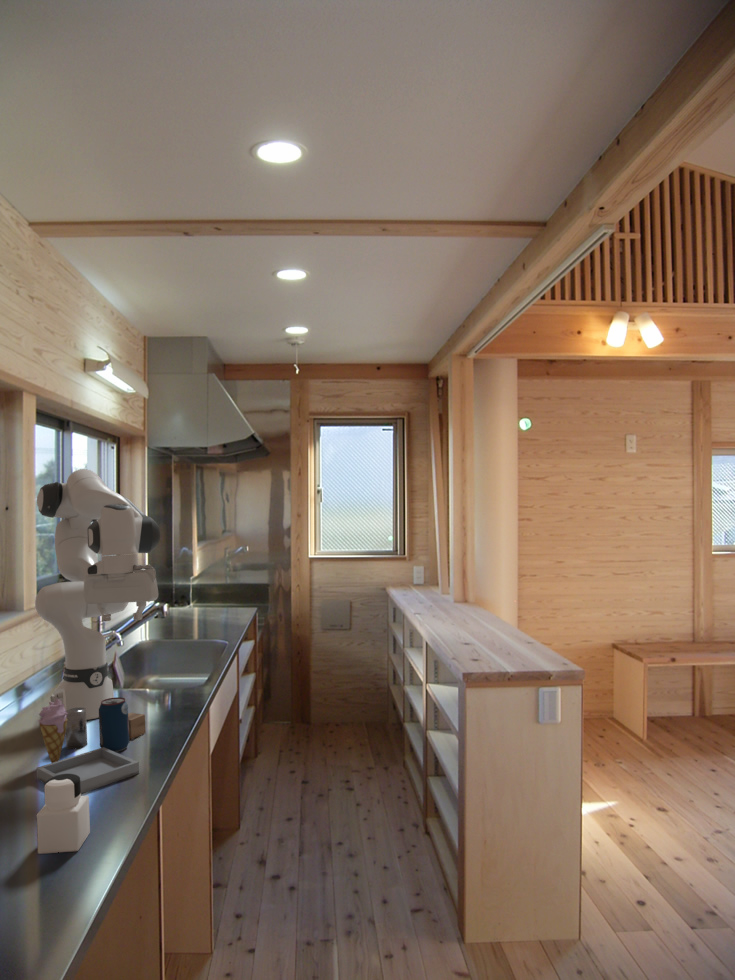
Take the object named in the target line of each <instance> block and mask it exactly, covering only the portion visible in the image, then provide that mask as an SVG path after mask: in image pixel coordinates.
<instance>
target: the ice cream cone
mask: <svg viewBox="0 0 735 980" xmlns="http://www.w3.org/2000/svg"><path fill="white" fill-rule="evenodd" d="M48 703H49V705H48V706H44V707H42V710H41V711H40V712H39V714H38V715H39V716H40V717H41V718H40V719H39V720H38V723H39V728H40V732H41V736H42V738H43V742H44V746H45V748H46V751H47V754H48V757H49V761H50V763H54V762H57V761H60V758H61V754H62V749H63V746H64V741H65V738H66V726H67V718H66V716H67V715H68V713H67V712H66V710H65V708H64V704H61V703H62V702H61V701H60V700H59V699H56V700H55V703H53V702H51V701H50V702H49V701H48Z"/></svg>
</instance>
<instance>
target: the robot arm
mask: <svg viewBox="0 0 735 980" xmlns="http://www.w3.org/2000/svg"><path fill="white" fill-rule="evenodd" d="M36 506H37V508H38V512H39V514H41V516H43V517H48V518H58V519H61V520H60V521H59V522H58V523H57V524H56V527H55V532H54V548H55V549H54V550H55V555H56V562H57V568H58V569H57V570H58V572H59V573H60V574H61V576H62V577H64V578H65V579H66V580H69V581H62V582H61V581H60V582H55V583H52V584H49V585H45V586H42V587H41V588H40V589H39V591H38V592H37V594H36V597H35V602H34V604H35V610H36V613H37V614H38V616H39V617H41V619H43V620H44V621H46V622H48V623H49V624H51V625H52V626H53V628H55V629H56V630H57V632H58V633H59V635H60V636H61V639H62V641H63V648H64V656H65V657H64V658H65V667H62V669H63V670H62V673H63V674H62V681H60V683H59V685H58V686H57V687H56V688H55V689H54V690H53V691H52V694H51V695H50V698H49V699H50V702H53V703H55V700H56V699H59V700H60V701H61V702H62V703H61V704H64V708H65V710H69V709H72V708H86V721H87V720H89V721H90V720H93V719H99V707H100V705H101V701H103V700H105V699H109V698H115V695H114V687H113V685H114V684H113V680H112V679H111V678H109V664H108V662H107V649H106V648H107V647H106V638H105V636H104V635H103V634H102V633H101V632H100V631H97V630H95V629H93V628H91V627H90V628H89V627H87V626H84V624H83V620H84V619H88V618H97V617H98V618H99V617H101V621H102V622H110V621H111V620H112V615H114V614H117V613H120V612H123V611H124V610H125V609H126V608H127V606H128V605H129V603H136V607H138V608H137V610H136V612H134V613H132V615H133V616H132V617H133V621H141V620H143V612H144V610H145V609H146V606H147V602H148V603H149V602H155V601H156V600H157V599H158V598H159V589H158V588H159V587H158V581H157V573H156V569H155V567H153V566H152V565H150V564H145V565H144V564H143V565H142V564H139V563H138V562H139V561H138V560H139V559H138V557H139V556H138V554H150V553H151V552H152V551H153V550H155V548H156V547H157V546H158V545H159V543H160V540H161V532H160V527H159V525H158V523H157V522H156V521H155V520H154V519H153V518H152V517H151V516H148V515H146V514H145V513H144V512H143V511H142V510H141V509H139V507H137V506H136V505H135V503H133V502H132V501H131V500H130V499H129V498H127V497H126V496H124V495H122V494H119V493H118V492H117V491H114V490H112V489H111V488H110V487H108V486H107V485H106V483H105V481H103V479H102V478H101V477H100V476H99V475H98V474H97V473H95V472H94V471H93V470H91V469H88V468H80V469H77V470H75V471H72V473H71V474H70V475H69V476H68V478H67V481H66V482H65V483H64V482H62V483H60V482H58V481H55V482H49V483H46V484H44V485H43V486H42V487H40V488H39V492H38V493H37V496H36ZM97 555H100V556H101V557H100V558H101V559H100V560H98V557H97Z"/></svg>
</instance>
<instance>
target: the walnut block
mask: <svg viewBox="0 0 735 980" xmlns="http://www.w3.org/2000/svg"><path fill="white" fill-rule="evenodd" d="M128 721H129V740H133V739H135V738H138V737H140V736H142V735H145V734H146V714H142V713H136V712H128Z"/></svg>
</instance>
